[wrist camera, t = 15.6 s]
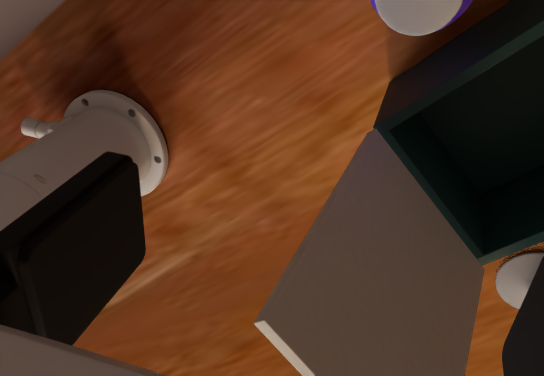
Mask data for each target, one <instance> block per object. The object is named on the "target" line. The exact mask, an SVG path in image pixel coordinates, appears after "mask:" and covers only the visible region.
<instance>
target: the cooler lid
mask: <svg viewBox="0 0 544 376" xmlns="http://www.w3.org/2000/svg"><path fill="white" fill-rule="evenodd" d="M483 275H484V268H483V267H482V266H481V264H480V263H479V262H478V260H477V259H476V258H475V256H474V255H473V254H472V253H471V251H470V250H469V249H468V247H467V246H466V245H465V243H464V242H463V241H462V240H461V238H460V237H459V236H458V234H457V233H456V232H455V230H454V229H453V228H452V227H451V225H450V224H449V223H448V221H447V220H446V219H445V217H444V216H443V215H442V214H441V212H440V211H439V210H438V208H437V207H436V206H435V204H434V203H433V202H432V201H431V199H430V198H429V197H428V195H427V194H426V193H425V191H424V190H423V189H422V188H421V186H420V185H419V184H418V182H417V181H416V180H415V178H414V177H413V176H412V175H411V173H410V172H409V171H408V169H407V168H406V167H405V165H404V164H403V163H402V162H401V160H400V159H399V158H398V156H397V155H396V154H395V152H394V151H393V150H392V149H391V147H390V146H389V145H388V143H387V142H386V141H385V139H384V138H383V137H382V136H381V134H380V133H379V132H378V130H377V129H374V130H372V131H370V132H369V133H367V135H366V136H365V138H364V140H363V141H362V143H361V145H360V146H359V148H358V150H357V151H356V153H355V155H354V156H353V158H352V160H351V161H350V163H349V165H348V166H347V168H346V170H345V171H344V173H343V175H342V176H341V178H340V180H339V181H338V183H337V185H336V186H335V188H334V190H333V191H332V193H331V195H330V196H329V198H328V200H327V201H326V203H325V205H324V206H323V208H322V210H321V211H320V213H319V215H318V216H317V218H316V220H315V221H314V223H313V225H312V226H311V228H310V230H309V231H308V233H307V235H306V236H305V238H304V240H303V241H302V243H301V245H300V246H299V248H298V250H297V251H296V253H295V255H294V256H293V258H292V260H291V261H290V263H289V265H288V266H287V268H286V270H285V271H284V273H283V275H282V276H281V278H280V280H279V281H278V283H277V285H276V286H275V288H274V290H273V291H272V293H271V295H270V296H269V298H268V300H267V301H266V303H265V305H264V306H263V308H262V310H261V311H260V313H259V315H258V316H257V318H256V320H255V321H254V324H255V325H256V326H257V328H258V329H259V330H260V331H261V332H262V333H263V334H264V335H265V336H266V337H267V338H268V339H269V340H270V341H271V342H272V344H273V345H274V346H275V347H276V348H277V349H278V350H279V351H280V352H281V353H282V354H283V355H284V356H285V357H286V359H287V360H288V361H289V362H290V363H291V364H292V365H293V366H294V367H295V368H296V369H297V370H298V371H299V372H300V374H301V375H302V376H465V371H466V366H467V361H468V355H469V350H470V345H471V339H472V334H473V328H474V323H475V318H476V312H477V307H478V302H479V296H480V291H481V286H482V280H483Z"/></svg>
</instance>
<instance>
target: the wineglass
mask: <svg viewBox="0 0 544 376" xmlns="http://www.w3.org/2000/svg"><path fill="white" fill-rule="evenodd" d="M543 256H544V252H530V253H524V254H520V255H517V256H515V257H512V258H511V259H509V260H508V261H506V262H505V263H504V264H503V265H502V266H501V267H500V269H499V270H498V272H497V274H496V281H495V282H496V288H497V291H498V293H499V295H500V296H501V298H502V299H503V300H504V301H505V302H506V303H508V304H509V305H511V306H512V307H515V308H517V309H520V307H521V305H522V302H523V300H524V298H525V296H526V293H527V291H528V289H529V287H530V284H531V282H532V280H533V278H534V275H535V273H536V271H537V269H538V267H539V264H540V262H541V260H542V258H543Z"/></svg>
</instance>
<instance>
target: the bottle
mask: <svg viewBox="0 0 544 376" xmlns="http://www.w3.org/2000/svg"><path fill="white" fill-rule="evenodd" d="M472 1H473V0H371V3H372V5H373V7H374V9H375V10H376V12H377V13H378V14H379V15H380V17H381V18H382V19H383V21H384V22H385V23H386V24H387V25H388V26H389V27H390V28H392V29H393V30H395V31H397V32H399V33H402V34H405V35H410V36H421V35H426V34H430V33H432V32H436V31H439V30H441V29H443V28H445V27H446V26H448V25H449V24H451V23H452V22H454V21H455V20H456V19H457V18H459V17H460V16H461V15H462V14H463V13H464V11H466V9H467V8H468V7H469V5H470V4H471V3H472Z"/></svg>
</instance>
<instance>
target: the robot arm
mask: <svg viewBox="0 0 544 376" xmlns="http://www.w3.org/2000/svg"><path fill="white" fill-rule="evenodd" d="M21 131H22V133H23V134H25V135H28V136H32V137H36V138H39V139H38V140H36V141H34V142H33V143H31V144H29V145H28V146H26V147H24V148H23V149H21V150H19V151H18V152H16V153H15V154H13V155H11V156H10V157H8V158H6V159H5V160H3V161H1V162H0V376H167V375H164V374H161V373H157V372H154V371H151V370H148V369H145V368H141V367H138V366H135V365H132V364H129V363H125V362H122V361H119V360H116V359H113V358H109V357H106V356H103V355H100V354H97V353H93V352H90V351H87V350H84V349H81V348H77V347H74V346H72V345H73V344H74V343H75V341H76V340H77V339H78V338H79V337H80V335H81V334H82V333H83V332H84V331H85V329H86V328H87V327H88V326H89V325H90V323H91V322H92V321H93V320H94V319H95V317H96V316H97V315H98V314H99V313H100V311H101V310H102V309H103V308H104V307H105V305H106V304H107V303H108V302H109V301H110V299H111V298H112V297H113V296H114V295H115V294H116V292H117V291H118V290H119V289H120V288H121V286H122V285H123V284H124V283H125V282H126V280H127V279H128V278H129V277H130V276H131V274H132V273H133V272H134V271H135V270H136V268H137V267H138V266H139V265H140V264H141V262H142V261H143V258H144V256H145V251H146V247H145V236H144V224H143V213H142V202H141V196H144V195H146V194H148V193H150V192H151V191H152V190H154V189H155V188H156V187H157V186H158V185H159V184H160V182H161V181H162V180H163V178H164V176H165V174H166V171H167V167H168V151H167V145H166V142H165V139H164V137H163V134H162V132H161V130H160V128H159V127H158V125H157V123H156V122H155V121H154V119H153V118H152V117H151V115H150V114H149V113H148V112H147V111H146V110H145V109H144V108H143V107H142V106H140V105H139V104H138V103H136V102H135V101H134V100H132V99H130V98H128V97H126V96H124V95H123V94H120V93H117V92H113V91H108V90H94V91H90V92H87V93H85V94H83V95H81V96H79V97H78V98H76V99H75V100H74V101H73V102H72V103H71V104H70V105H69V106H68V108H67V110H66V111H65V115H64V118H63V120H62V121H60V122H56V121H52V122H50V123H45V122H44V121H40V120H36V119H32V118H26V119H24V120H23V122H22V124H21ZM502 362H503V372H504V376H544V256H543V258H542V260H541V262H540V264H539V267H538V269H537V271H536V273H535V275H534V278H533V280H532V282H531V284H530V287H529V289H528V291H527V293H526V296H525V298H524V300H523V302H522V305H521V307H520V309H519V311H518V314H517V316H516V318H515V320H514V323H513V325H512V327H511V329H510V332H509V334H508V336H507V338H506V340H505V343H504V347H503V352H502Z"/></svg>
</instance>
